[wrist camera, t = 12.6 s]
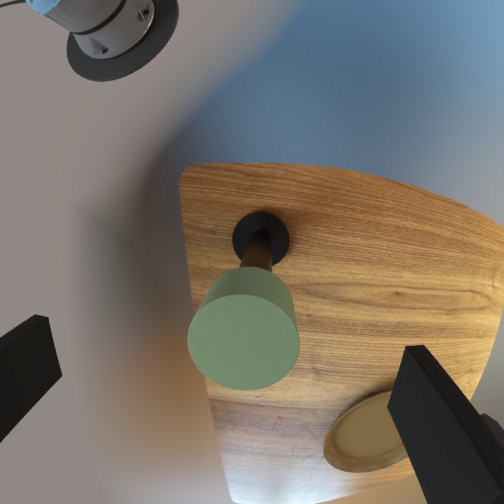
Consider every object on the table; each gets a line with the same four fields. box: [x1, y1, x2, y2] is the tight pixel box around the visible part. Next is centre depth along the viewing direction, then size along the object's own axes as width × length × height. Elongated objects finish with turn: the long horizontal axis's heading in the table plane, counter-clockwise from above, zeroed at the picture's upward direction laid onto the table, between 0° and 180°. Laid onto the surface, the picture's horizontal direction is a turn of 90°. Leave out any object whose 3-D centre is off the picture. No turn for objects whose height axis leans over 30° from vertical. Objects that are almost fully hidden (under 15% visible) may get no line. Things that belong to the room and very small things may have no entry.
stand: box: [232, 211, 289, 273], centre depth 33 cm, size 8×8×26 cm
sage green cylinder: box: [188, 267, 300, 390], centre depth 18 cm, size 6×6×5 cm
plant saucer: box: [323, 390, 408, 473], centre depth 50 cm, size 24×24×3 cm
